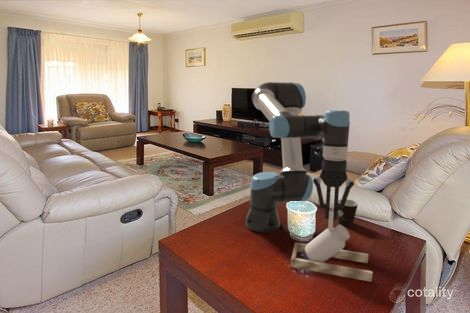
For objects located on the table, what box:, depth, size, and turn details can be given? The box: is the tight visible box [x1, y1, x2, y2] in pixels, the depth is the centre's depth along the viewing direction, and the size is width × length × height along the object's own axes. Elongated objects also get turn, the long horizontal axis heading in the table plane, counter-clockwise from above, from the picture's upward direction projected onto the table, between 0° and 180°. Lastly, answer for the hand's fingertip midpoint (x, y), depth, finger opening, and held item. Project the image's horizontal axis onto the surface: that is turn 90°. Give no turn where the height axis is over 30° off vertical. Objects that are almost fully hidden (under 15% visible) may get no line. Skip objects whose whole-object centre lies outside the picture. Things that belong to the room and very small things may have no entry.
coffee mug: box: [337, 198, 359, 227], centre depth 142 cm, size 12×9×10 cm
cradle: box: [290, 241, 373, 283], centre depth 108 cm, size 26×12×3 cm, turn 73°
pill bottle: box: [305, 224, 351, 263], centre depth 106 cm, size 8×8×15 cm
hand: (330, 228), depth 104 cm, fingers closed
